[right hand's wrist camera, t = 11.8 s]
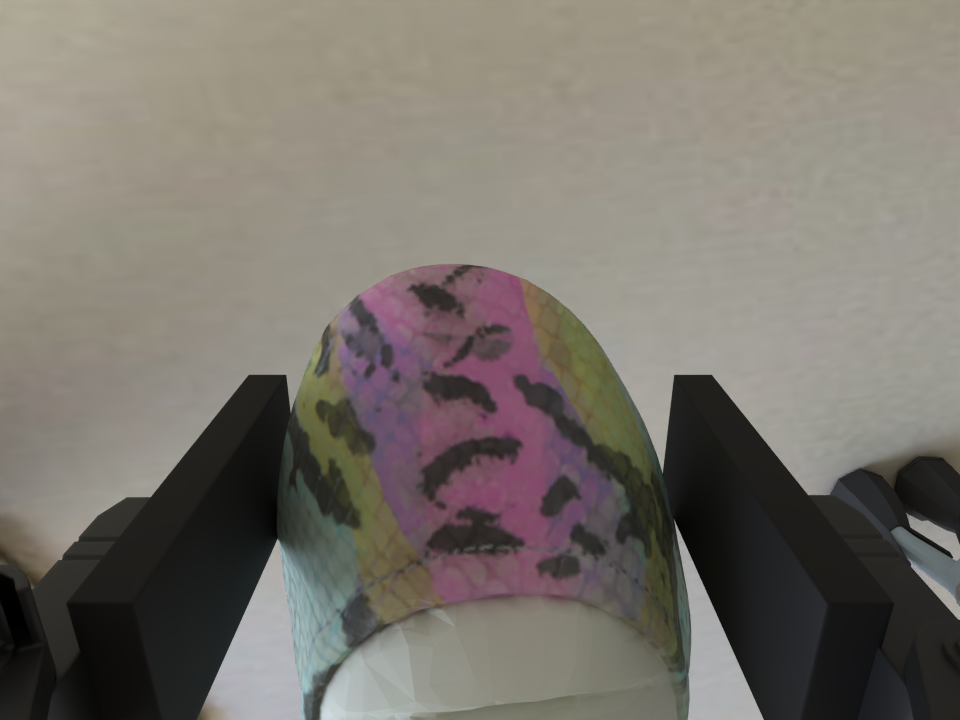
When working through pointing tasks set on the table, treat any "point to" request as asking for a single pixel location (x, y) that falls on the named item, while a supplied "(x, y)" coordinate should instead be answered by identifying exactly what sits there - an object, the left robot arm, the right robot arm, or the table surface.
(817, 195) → the table surface
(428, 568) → the ballet flat
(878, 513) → the robot
